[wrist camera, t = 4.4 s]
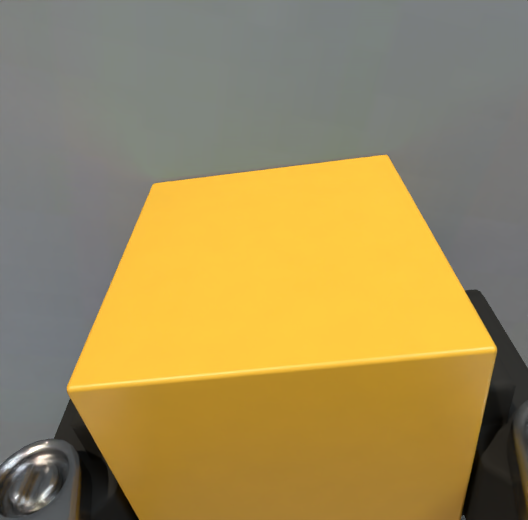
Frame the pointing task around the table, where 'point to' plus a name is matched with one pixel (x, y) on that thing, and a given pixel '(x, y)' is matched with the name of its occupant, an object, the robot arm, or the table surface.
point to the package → (286, 353)
